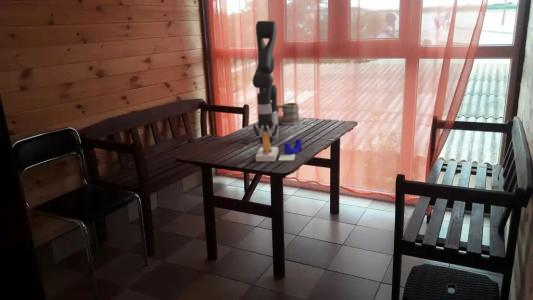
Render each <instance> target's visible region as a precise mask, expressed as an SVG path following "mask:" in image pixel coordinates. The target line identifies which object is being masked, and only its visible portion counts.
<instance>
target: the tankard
mask: <svg viewBox="0 0 533 300" xmlns="http://www.w3.org/2000/svg"><path fill="white" fill-rule="evenodd" d="M298 105H299V104H298V103H297V102H286V103H283V104H282V105H279V104H277V112H278V113H279V112H280V109H281V111H282V116H281V117H282V118H278V123H279V122H280V123H281V125H283V126H287V127H288V126H289V127H290V126H291V127H292V126H297V125H300V124H301V120H300V119H299V117H300V113H299V110H300V107H299V106H298Z"/></svg>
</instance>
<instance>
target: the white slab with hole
mask: <svg viewBox="0 0 533 300" xmlns="http://www.w3.org/2000/svg"><path fill="white" fill-rule="evenodd" d="M278 154H279V147H278V146H273V147H272V146H271V152H270V153H264V152H263V146H261V147H259V150H258V151H257V152H256V154H255V162H275V161H276V160H277V157H278Z"/></svg>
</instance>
